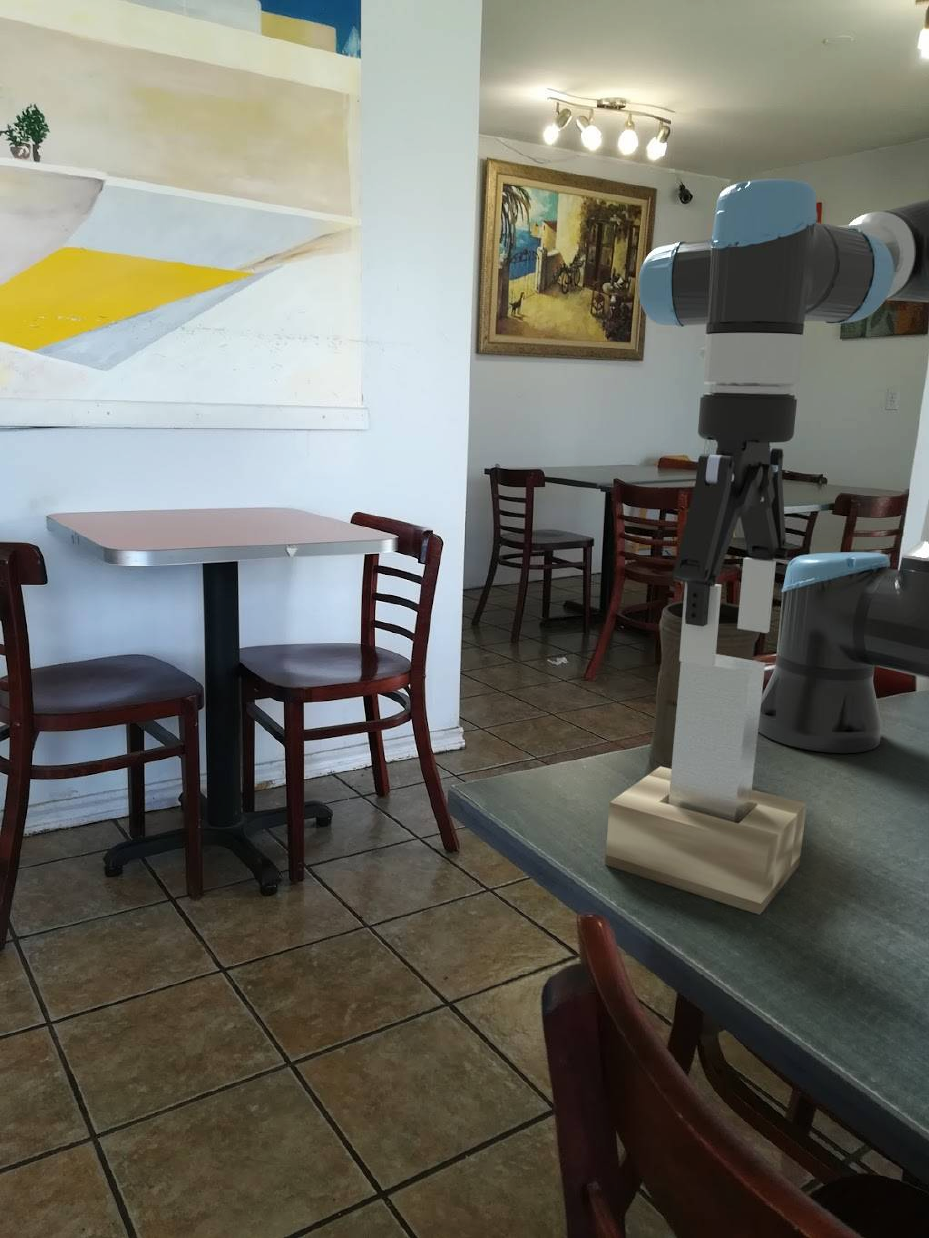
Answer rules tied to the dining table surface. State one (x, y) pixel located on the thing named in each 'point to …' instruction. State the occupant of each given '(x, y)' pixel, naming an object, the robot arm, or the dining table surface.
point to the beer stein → (668, 678)
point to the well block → (706, 844)
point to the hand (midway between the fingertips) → (726, 645)
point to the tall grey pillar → (716, 737)
